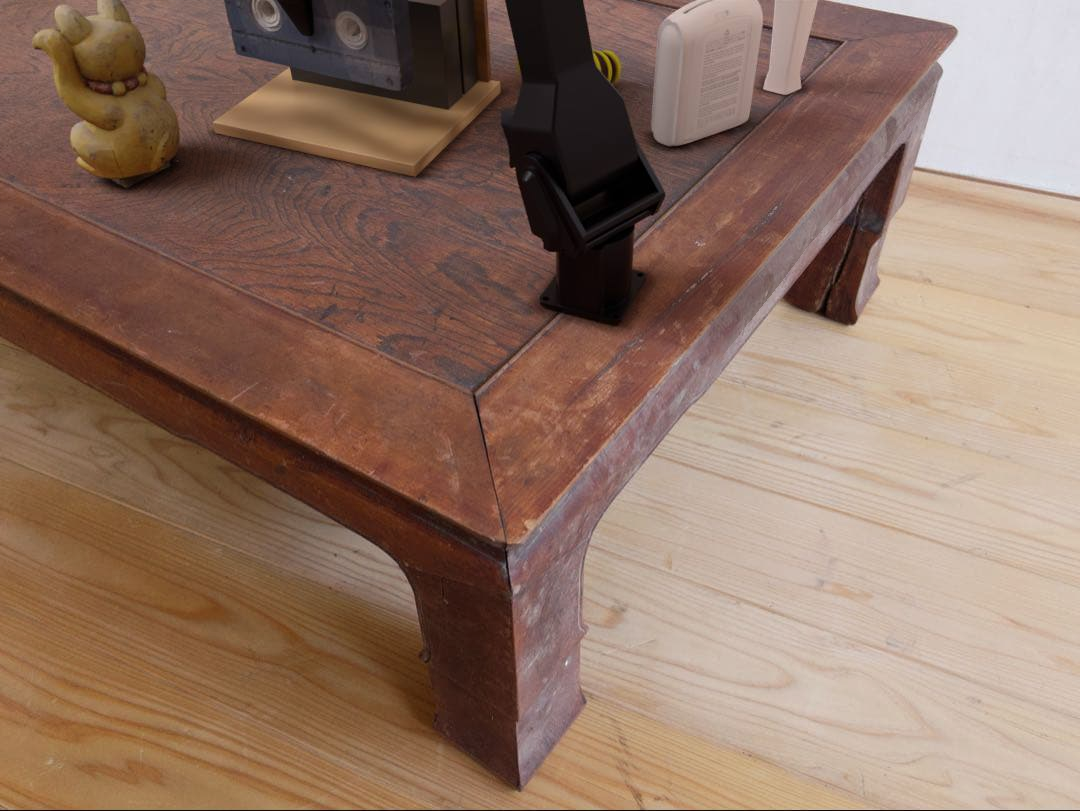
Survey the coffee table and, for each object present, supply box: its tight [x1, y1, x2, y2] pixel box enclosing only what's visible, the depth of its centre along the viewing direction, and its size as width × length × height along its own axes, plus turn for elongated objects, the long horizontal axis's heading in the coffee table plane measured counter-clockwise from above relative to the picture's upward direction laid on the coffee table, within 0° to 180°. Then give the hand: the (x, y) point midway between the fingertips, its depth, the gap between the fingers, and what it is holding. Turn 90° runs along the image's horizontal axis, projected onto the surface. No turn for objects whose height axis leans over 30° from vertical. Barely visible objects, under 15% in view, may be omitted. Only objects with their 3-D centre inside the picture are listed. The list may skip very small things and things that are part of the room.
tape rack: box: [212, 0, 502, 178], centre depth 93 cm, size 18×22×11 cm
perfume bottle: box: [762, 0, 819, 96], centre depth 95 cm, size 5×4×15 cm
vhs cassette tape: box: [223, 0, 415, 91], centre depth 85 cm, size 18×3×10 cm, turn 62°
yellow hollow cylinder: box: [516, 49, 622, 86], centre depth 99 cm, size 10×5×5 cm, turn 58°
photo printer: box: [650, 0, 764, 147], centre depth 89 cm, size 10×4×12 cm, turn 123°
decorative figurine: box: [31, 0, 181, 189], centre depth 85 cm, size 10×8×15 cm
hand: (316, 29), depth 86 cm, fingers closed on vhs cassette tape, 2 cm apart
